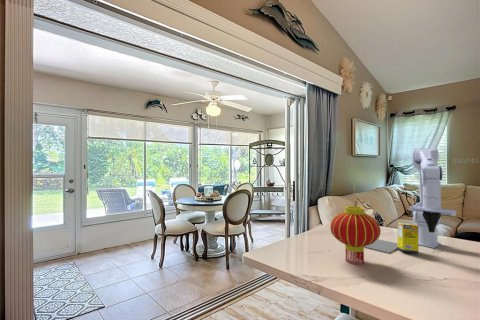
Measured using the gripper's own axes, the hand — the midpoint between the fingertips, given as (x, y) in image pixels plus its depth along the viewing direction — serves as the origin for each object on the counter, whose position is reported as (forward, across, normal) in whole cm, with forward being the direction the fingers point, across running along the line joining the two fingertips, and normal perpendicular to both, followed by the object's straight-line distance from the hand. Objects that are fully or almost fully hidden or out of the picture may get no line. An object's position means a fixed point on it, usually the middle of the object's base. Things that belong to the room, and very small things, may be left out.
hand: (431, 231), depth 103 cm
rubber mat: (+10, -20, 0) cm, 22 cm away
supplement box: (+10, -8, 0) cm, 13 cm away
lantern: (+10, -18, -27) cm, 34 cm away
